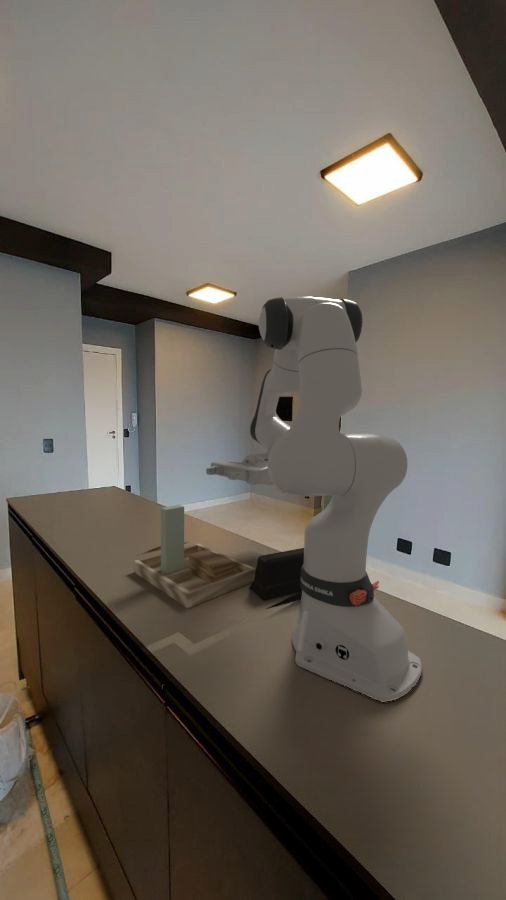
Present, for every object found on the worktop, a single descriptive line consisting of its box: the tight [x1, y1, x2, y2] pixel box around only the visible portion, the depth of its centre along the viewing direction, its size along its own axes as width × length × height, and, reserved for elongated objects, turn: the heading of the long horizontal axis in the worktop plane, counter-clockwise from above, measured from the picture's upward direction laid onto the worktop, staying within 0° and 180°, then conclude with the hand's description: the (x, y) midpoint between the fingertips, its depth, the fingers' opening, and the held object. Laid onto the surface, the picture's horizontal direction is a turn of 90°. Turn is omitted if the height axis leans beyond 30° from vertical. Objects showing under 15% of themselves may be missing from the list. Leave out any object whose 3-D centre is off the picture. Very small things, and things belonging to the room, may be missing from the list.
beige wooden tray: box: [133, 543, 256, 609], centre depth 93 cm, size 24×20×4 cm
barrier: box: [248, 547, 304, 610], centre depth 90 cm, size 24×9×10 cm, turn 119°
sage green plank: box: [160, 504, 185, 575], centre depth 90 cm, size 2×5×18 cm, turn 134°
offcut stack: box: [184, 550, 237, 583], centre depth 95 cm, size 14×7×4 cm, turn 44°
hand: (218, 473), depth 99 cm, fingers open, 8 cm apart
